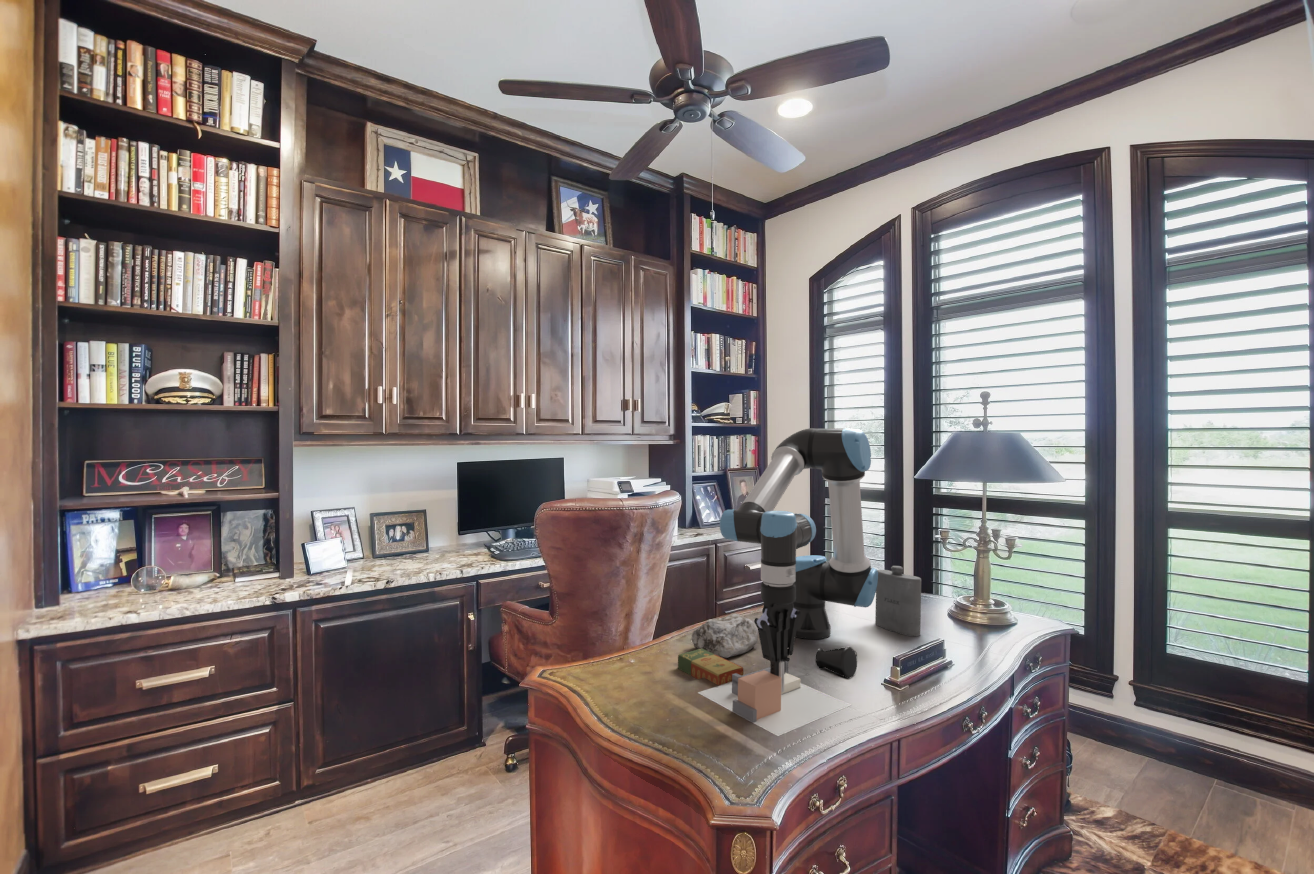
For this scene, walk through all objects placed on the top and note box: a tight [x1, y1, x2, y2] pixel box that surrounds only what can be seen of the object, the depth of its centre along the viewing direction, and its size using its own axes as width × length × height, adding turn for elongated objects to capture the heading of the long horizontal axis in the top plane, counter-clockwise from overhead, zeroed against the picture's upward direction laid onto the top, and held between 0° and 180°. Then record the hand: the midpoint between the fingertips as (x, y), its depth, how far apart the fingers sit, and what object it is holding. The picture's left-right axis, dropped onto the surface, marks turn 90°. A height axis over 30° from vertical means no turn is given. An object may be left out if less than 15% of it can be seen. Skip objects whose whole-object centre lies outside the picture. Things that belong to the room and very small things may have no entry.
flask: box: [874, 565, 922, 637], centre depth 187 cm, size 15×6×20 cm, turn 34°
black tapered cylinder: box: [814, 646, 858, 679], centre depth 155 cm, size 8×18×8 cm
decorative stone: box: [690, 612, 759, 659], centre depth 167 cm, size 20×14×10 cm
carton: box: [677, 648, 744, 686], centre depth 148 cm, size 8×16×4 cm, turn 35°
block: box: [738, 670, 782, 719], centre depth 126 cm, size 5×8×7 cm, turn 127°
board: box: [697, 660, 852, 737], centre depth 132 cm, size 24×24×5 cm
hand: (777, 689), depth 129 cm, fingers closed
